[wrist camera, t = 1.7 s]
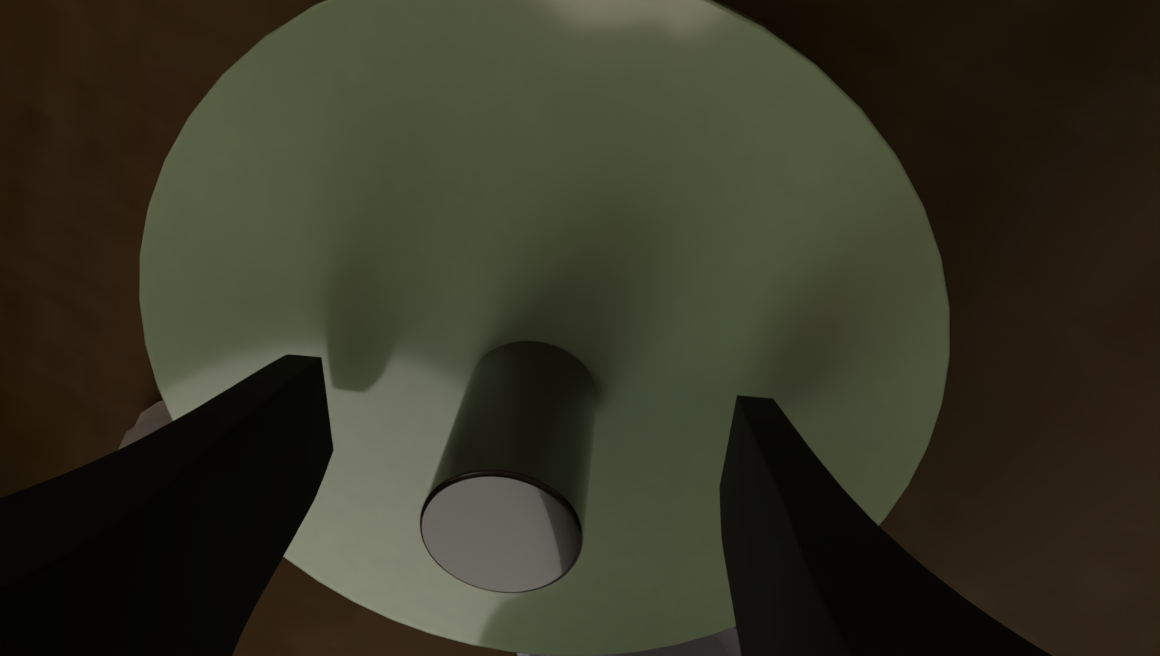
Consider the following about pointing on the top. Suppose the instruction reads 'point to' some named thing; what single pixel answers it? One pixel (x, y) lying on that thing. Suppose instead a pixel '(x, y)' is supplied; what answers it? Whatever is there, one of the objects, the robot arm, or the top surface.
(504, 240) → the lid
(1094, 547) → the top surface
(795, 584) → the robot arm
